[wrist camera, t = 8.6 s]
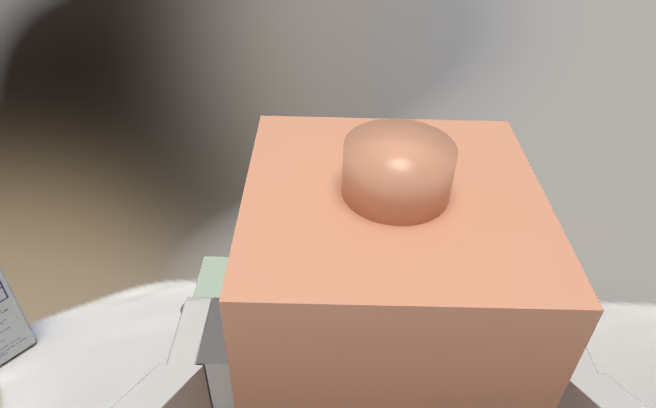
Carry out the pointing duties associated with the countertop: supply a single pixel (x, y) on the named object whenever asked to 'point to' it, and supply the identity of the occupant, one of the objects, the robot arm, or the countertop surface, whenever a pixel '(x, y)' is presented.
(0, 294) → the medicine box
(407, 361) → the orange knobbed block
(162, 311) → the countertop surface
